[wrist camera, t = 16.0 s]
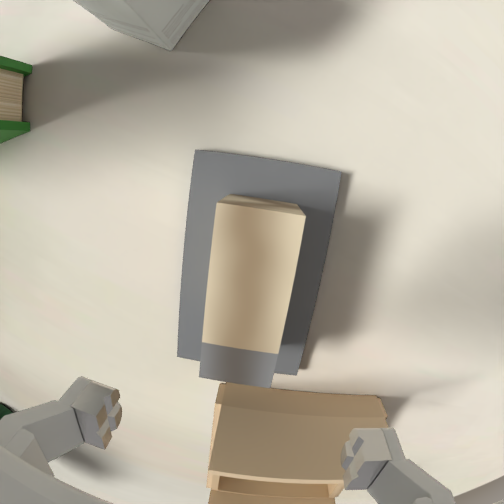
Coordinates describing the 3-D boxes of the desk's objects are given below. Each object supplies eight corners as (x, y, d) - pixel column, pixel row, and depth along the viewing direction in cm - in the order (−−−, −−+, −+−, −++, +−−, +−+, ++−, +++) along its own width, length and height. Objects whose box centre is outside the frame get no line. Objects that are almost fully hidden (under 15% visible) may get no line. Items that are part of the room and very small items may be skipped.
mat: (338, 171, 23) (341, 171, 22) (295, 369, 28) (296, 375, 27) (198, 150, 23) (195, 149, 22) (179, 350, 28) (177, 356, 27)
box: (296, 204, 23) (305, 216, 17) (270, 344, 26) (270, 388, 21) (230, 193, 23) (216, 202, 17) (212, 335, 26) (199, 377, 21)
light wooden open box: (380, 395, 29) (411, 473, 18) (334, 480, 33) (343, 545, 22) (220, 380, 29) (200, 468, 18) (209, 470, 33) (196, 538, 23)
